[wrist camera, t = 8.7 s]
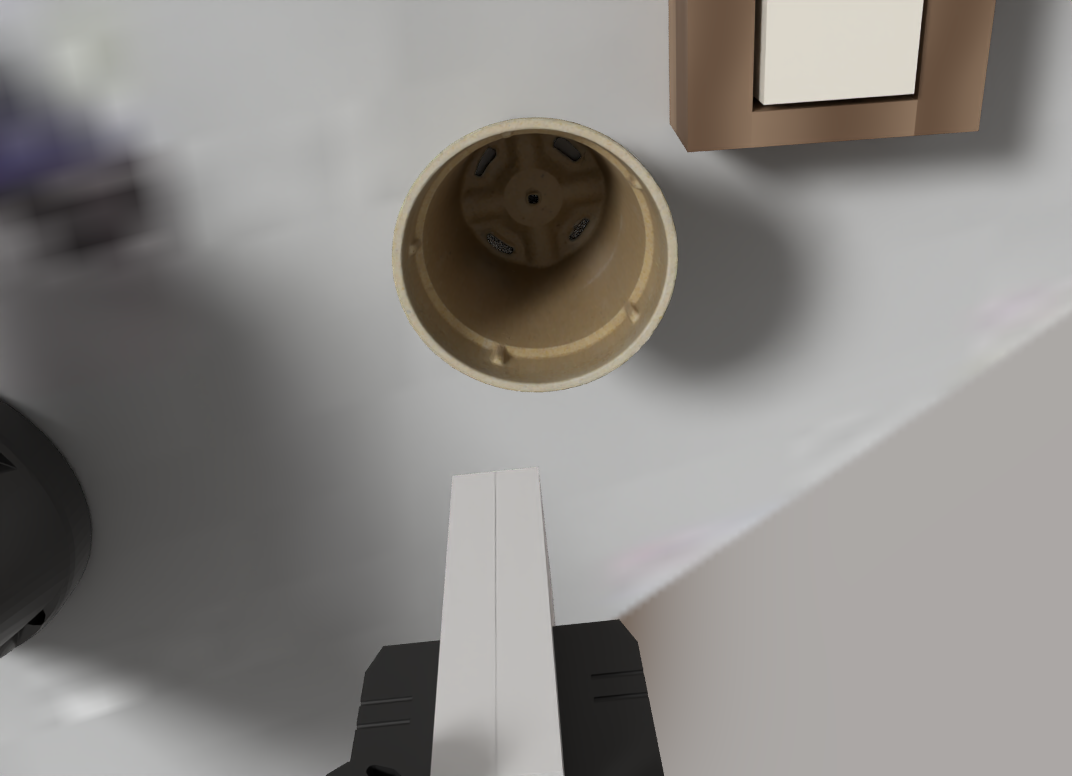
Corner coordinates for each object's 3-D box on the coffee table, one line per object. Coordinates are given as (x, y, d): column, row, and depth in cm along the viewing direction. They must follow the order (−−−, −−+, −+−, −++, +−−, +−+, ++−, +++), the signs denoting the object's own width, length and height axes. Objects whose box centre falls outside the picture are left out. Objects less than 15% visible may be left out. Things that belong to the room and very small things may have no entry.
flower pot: (677, 103, 37) (714, 153, 30) (619, 321, 41) (638, 414, 34) (440, 52, 36) (414, 90, 29) (405, 279, 41) (374, 366, 33)
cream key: (749, 92, 34) (763, 105, 32) (753, -61, 32) (769, -59, 30) (889, 81, 34) (914, 93, 32) (903, -73, 32) (930, -72, 30)
